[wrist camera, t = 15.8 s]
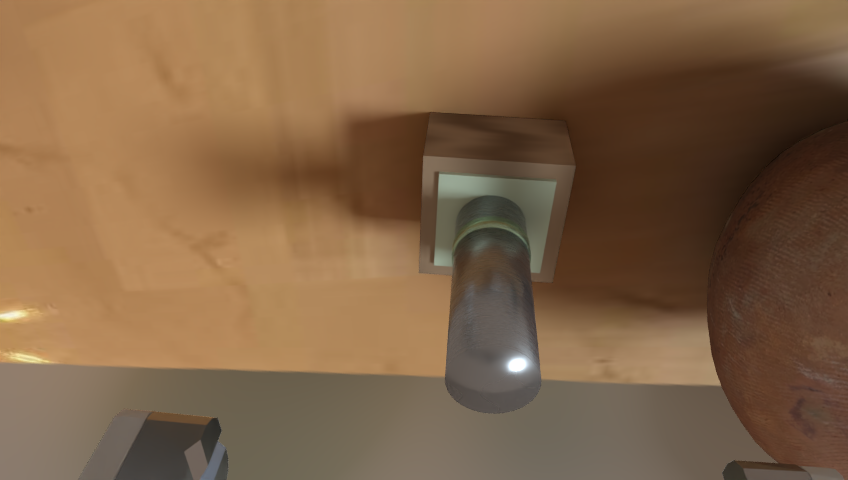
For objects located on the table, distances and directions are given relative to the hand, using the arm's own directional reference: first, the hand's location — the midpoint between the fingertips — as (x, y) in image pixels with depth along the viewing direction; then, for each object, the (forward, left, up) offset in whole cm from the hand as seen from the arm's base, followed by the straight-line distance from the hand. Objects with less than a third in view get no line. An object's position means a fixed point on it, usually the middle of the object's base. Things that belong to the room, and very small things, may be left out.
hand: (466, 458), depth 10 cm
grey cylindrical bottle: (+2, -14, -27) cm, 30 cm away
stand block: (+2, -14, -33) cm, 36 cm away
